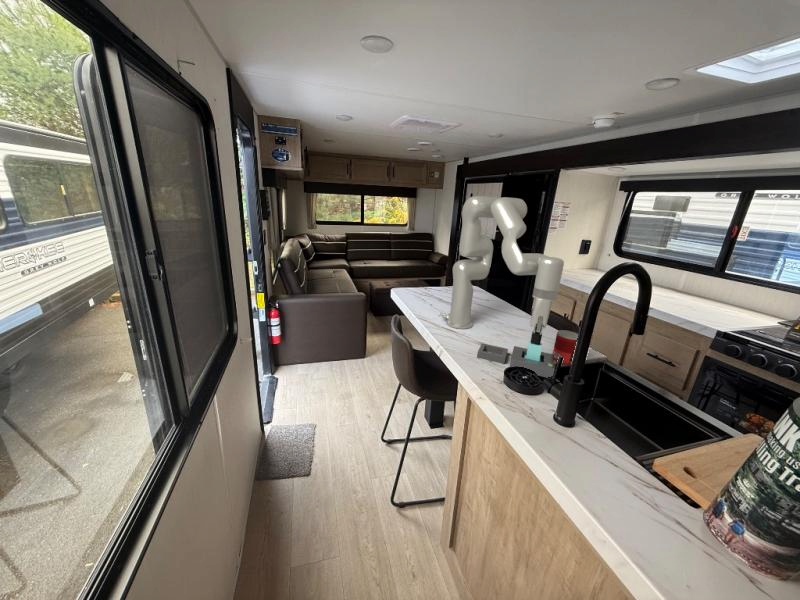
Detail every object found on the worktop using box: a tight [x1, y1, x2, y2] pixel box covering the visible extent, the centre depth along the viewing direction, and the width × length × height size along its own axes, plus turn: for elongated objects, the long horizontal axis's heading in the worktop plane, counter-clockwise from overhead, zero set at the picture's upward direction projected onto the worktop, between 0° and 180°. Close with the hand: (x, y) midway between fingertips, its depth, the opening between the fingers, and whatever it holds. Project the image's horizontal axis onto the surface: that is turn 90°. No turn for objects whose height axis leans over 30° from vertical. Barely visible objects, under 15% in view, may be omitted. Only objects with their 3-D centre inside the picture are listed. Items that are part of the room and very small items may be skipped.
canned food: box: [552, 329, 579, 366], centre depth 117 cm, size 8×8×11 cm
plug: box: [524, 340, 543, 362], centre depth 111 cm, size 5×4×9 cm
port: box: [509, 345, 556, 379], centre depth 111 cm, size 14×12×5 cm
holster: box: [476, 342, 509, 365], centre depth 118 cm, size 10×9×2 cm
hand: (535, 343), depth 109 cm, fingers closed
